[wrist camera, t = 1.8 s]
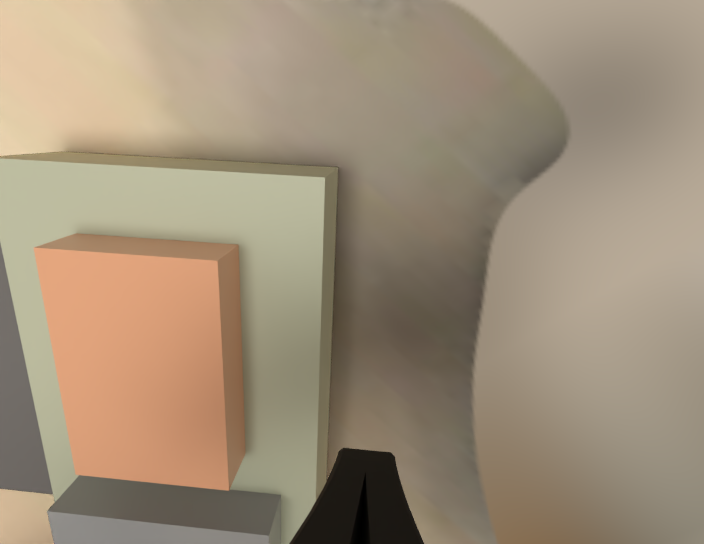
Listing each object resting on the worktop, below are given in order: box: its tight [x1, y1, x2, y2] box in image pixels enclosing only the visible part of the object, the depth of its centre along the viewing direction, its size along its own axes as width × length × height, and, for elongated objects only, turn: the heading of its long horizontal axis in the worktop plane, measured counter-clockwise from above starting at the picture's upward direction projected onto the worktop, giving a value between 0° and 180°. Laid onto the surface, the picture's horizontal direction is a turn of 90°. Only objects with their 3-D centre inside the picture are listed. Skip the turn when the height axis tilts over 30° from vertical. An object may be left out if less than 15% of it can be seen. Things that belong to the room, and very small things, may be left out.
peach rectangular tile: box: [34, 233, 246, 491], centre depth 16 cm, size 9×6×2 cm, turn 177°
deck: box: [0, 152, 338, 544], centre depth 20 cm, size 20×12×4 cm, turn 177°
